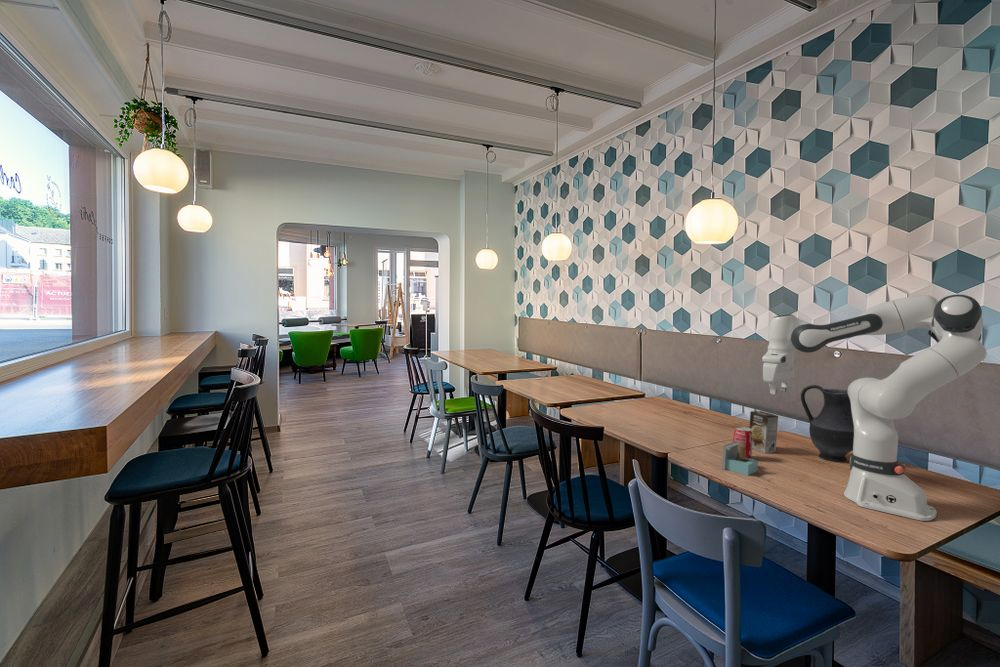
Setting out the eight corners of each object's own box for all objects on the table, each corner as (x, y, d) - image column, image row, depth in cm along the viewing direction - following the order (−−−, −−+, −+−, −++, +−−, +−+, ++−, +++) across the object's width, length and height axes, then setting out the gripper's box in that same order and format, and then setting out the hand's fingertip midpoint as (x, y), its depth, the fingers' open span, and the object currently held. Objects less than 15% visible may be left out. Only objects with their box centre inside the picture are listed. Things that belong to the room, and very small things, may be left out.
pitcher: (860, 468, 182) (866, 392, 180) (797, 458, 192) (801, 386, 191) (855, 457, 196) (860, 386, 195) (796, 448, 207) (800, 381, 205)
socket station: (758, 470, 177) (759, 447, 176) (746, 476, 170) (747, 451, 170) (734, 464, 184) (735, 441, 183) (722, 469, 177) (723, 445, 177)
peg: (745, 470, 176) (746, 444, 175) (742, 472, 174) (743, 445, 174) (738, 468, 178) (739, 443, 178) (735, 470, 176) (736, 444, 176)
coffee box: (747, 447, 207) (749, 411, 206) (759, 446, 209) (761, 410, 208) (764, 453, 199) (766, 415, 198) (776, 452, 200) (778, 415, 200)
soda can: (747, 455, 195) (748, 427, 194) (754, 460, 188) (756, 431, 187) (729, 454, 196) (731, 426, 195) (736, 459, 189) (738, 430, 188)
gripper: (782, 354, 187) (780, 389, 188) (760, 357, 174) (758, 394, 175) (800, 356, 182) (798, 391, 183) (778, 359, 169) (776, 396, 170)
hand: (778, 392), depth 179 cm, fingers open, 8 cm apart
